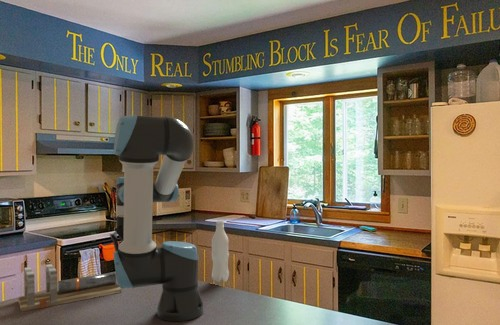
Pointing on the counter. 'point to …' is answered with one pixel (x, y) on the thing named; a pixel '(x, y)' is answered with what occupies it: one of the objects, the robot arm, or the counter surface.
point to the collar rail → (52, 295)
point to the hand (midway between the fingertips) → (126, 273)
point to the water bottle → (220, 254)
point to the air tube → (86, 283)
